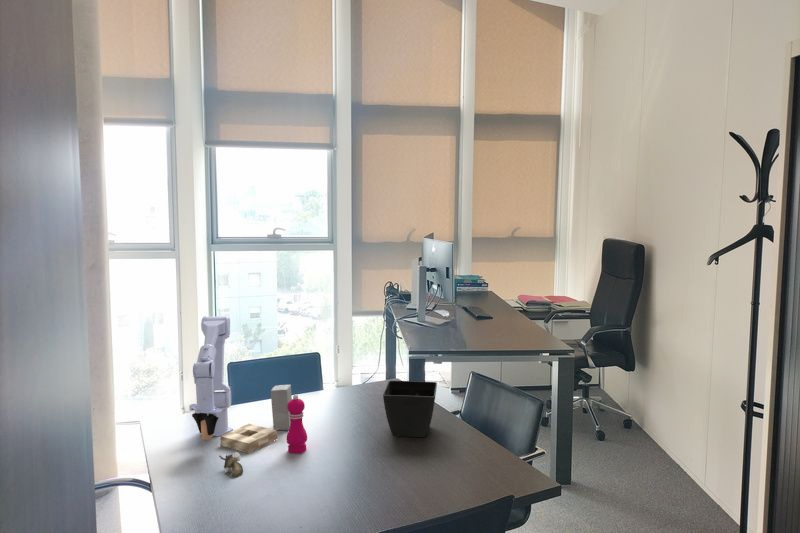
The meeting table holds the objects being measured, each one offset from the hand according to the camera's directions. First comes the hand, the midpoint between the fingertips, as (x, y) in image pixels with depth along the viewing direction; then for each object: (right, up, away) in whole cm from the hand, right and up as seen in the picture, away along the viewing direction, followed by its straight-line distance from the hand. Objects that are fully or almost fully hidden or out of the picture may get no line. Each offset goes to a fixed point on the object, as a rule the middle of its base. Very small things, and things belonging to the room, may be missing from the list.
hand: (206, 433), depth 209 cm
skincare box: (+22, -4, +24) cm, 32 cm away
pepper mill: (+31, -6, +1) cm, 32 cm away
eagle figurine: (+13, -8, -16) cm, 23 cm away
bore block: (+13, -6, +8) cm, 16 cm away
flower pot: (+72, -4, +17) cm, 74 cm away
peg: (0, -2, 0) cm, 2 cm away
